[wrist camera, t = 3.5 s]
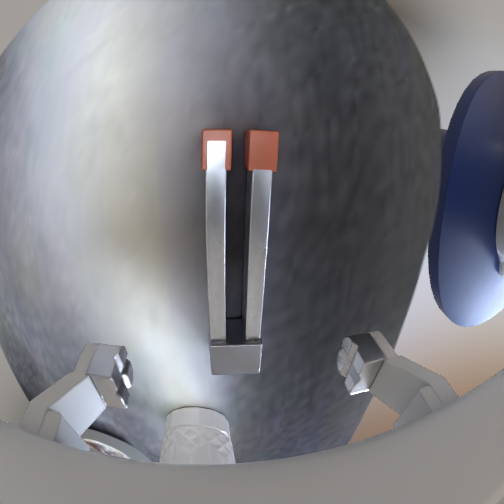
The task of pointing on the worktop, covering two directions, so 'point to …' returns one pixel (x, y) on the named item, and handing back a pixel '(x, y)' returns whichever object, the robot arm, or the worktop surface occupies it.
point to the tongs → (255, 246)
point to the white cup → (196, 438)
